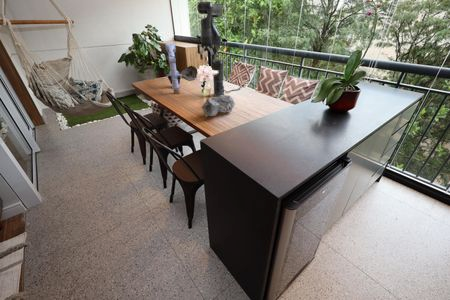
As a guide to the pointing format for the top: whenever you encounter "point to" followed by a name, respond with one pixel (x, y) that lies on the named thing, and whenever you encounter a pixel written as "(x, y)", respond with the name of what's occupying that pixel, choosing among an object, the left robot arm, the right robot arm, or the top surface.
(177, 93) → the block
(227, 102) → the rock
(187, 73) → the bark piece
